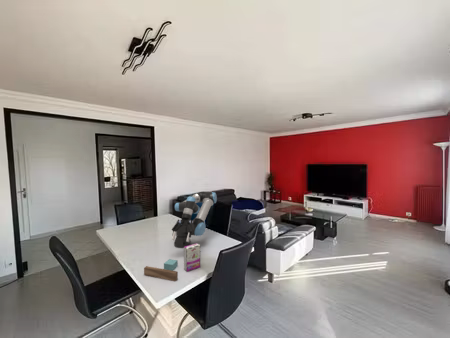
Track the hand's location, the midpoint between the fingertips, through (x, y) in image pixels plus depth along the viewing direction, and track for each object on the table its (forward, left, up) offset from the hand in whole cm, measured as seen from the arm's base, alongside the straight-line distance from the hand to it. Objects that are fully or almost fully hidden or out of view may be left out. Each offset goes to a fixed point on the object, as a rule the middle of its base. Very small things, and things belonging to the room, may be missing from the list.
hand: (180, 240), depth 156 cm
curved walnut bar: (+24, -1, -16) cm, 29 cm away
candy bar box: (+7, +14, -16) cm, 22 cm away
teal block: (+11, -1, -16) cm, 19 cm away
